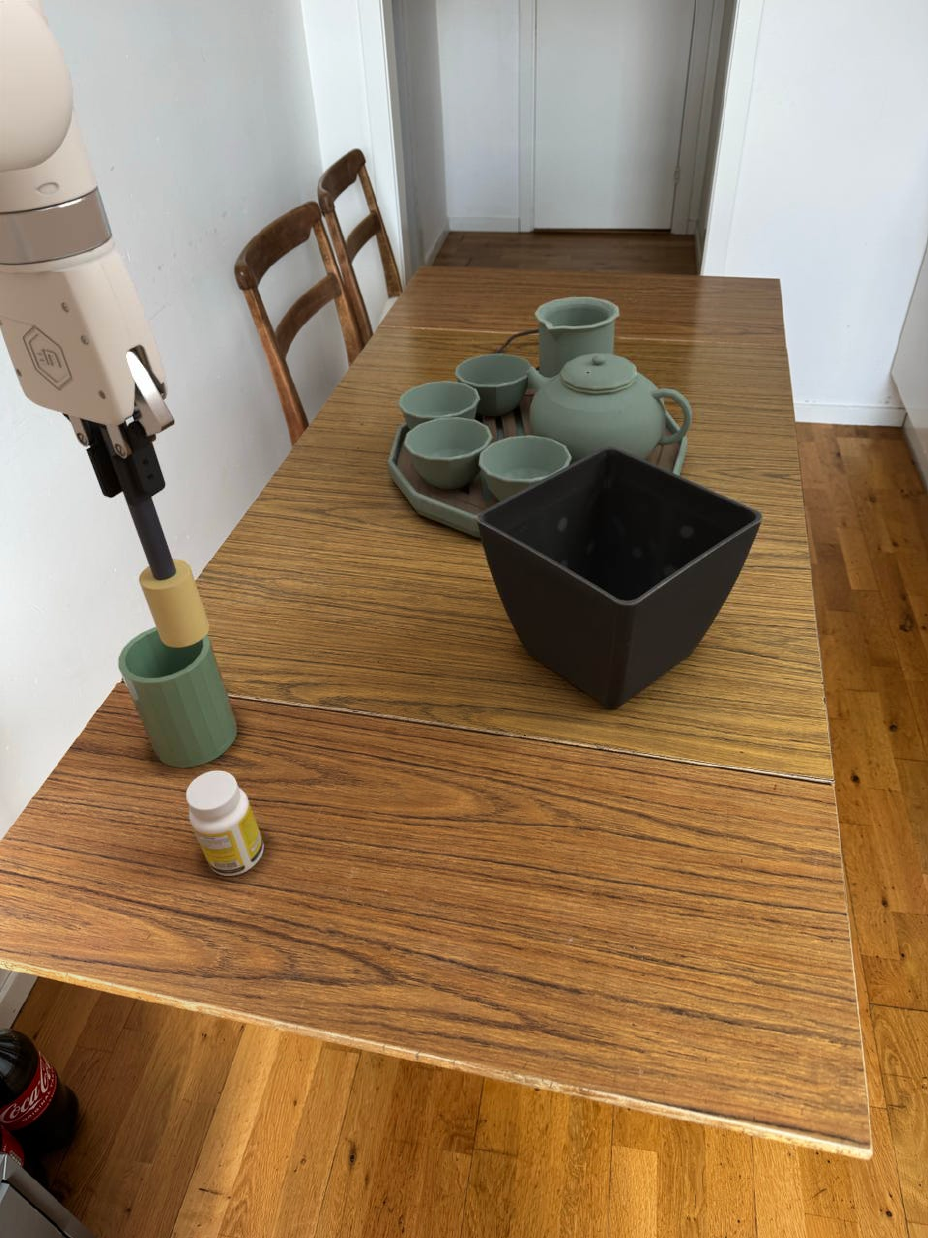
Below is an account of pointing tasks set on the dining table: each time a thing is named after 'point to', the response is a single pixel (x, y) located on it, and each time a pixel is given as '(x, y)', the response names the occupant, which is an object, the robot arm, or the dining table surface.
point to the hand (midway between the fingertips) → (135, 491)
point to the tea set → (530, 417)
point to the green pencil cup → (179, 699)
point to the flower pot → (615, 568)
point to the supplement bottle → (224, 823)
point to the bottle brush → (165, 577)
